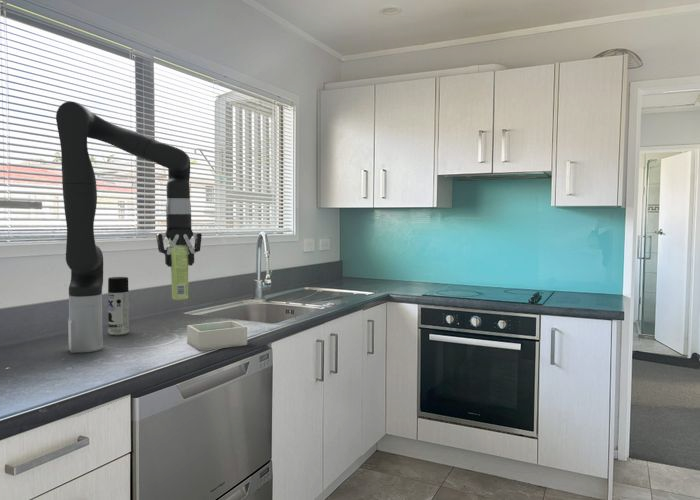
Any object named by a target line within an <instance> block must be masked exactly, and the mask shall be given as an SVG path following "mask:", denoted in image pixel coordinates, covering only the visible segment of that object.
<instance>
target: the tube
mask: <svg viewBox="0 0 700 500" xmlns="http://www.w3.org/2000/svg"><path fill="white" fill-rule="evenodd" d="M171 242H172V241H171V239H170V238H169V240H168V243H169V245H170V244H171ZM170 255H171V267H170V275H171V277H170V279H171V299H172V300H174V301H177V300H179V301H180V300H188V299H189V265H188V256H189V248H187V244H186V245H176V244H175V246H174V248H171V253H170Z"/></svg>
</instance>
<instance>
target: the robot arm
mask: <svg viewBox="0 0 700 500" xmlns="http://www.w3.org/2000/svg"><path fill="white" fill-rule="evenodd" d="M55 120H56V121H55V122H56V126H57V127H56V128H57V132H58V136H59V137H58V138H59V143H60V153H61V154H60V155H61V157H60V158H61V177H62V178H61V180H62V181H61V184H62V185H61V186H62V199H63V206H64V208H63V209H64V216H65V223H66V244H65V262H66V265H67V266H68V268H69V269H70V283H69V286H68V319H67V324H68V325H67V326H68V330H67V331H68V333H67V335H68V350H69V352H70V353H71V354H74V353H78V354H79V353H91V352H96V351H97V352H98V351H99V350H103V347H104V345H103V343H104V339H103V285H104V256H103V255H104V254H103V252H102V250H101V248H100V247H99V246H98V245H97V244H96V239H95V230H94V229H95V225H94V223H95V218H96V217H95V216H96V214H97V213H96V211H97V203H98V191H97V190H98V189H97V179H96V173H95V171H94V166H93V164H92V161H91V158H90V154H89V148H88V138H89V139H93V140H97V141H100V142H103V143H106V144H109V145H111V146H113V147H116V149H117V148H118V149H120V150H122V151H124V152H126V153H128V154H131V155H132V156H135V157H137V158H140V159H142V160H145V161H149V162H151V163H152V162H153V163H155V164H157V165H160V166H162V167H164V168H167V170H168V171H167V173H168V180H167V182H166V203H165V213H166V216H165V218H166V231H165V233H157V234H156V236H155V237H156V243H157V249H158V252H159V253H160V254H163V255H164V261H165V262H164V263H165V265H166V266H167V267H169V268H171V255H170V253H171V248H174V246H175V244H176V245H186V244H187V248H189V256H188V267H189V266H193V265H194V264H195V253H198V252H200V251H201V245H202V237H203V235H202V233H201V232H194V231H193V230H192V204H191V188H190V178H191V159H190V156H189V155H188V154H187V153H186V152H185V151H184V150H183V149H181V148H178V147H176V146H173V145H169V144H167V143H164V142H161V141H159V140H158V139H155V138H152V137H150V136H148V135H145V134H143V133H141V132H138V131H134V130H131V129H129V128H126V127H122V126H118V125H116V124H114V123H111V122H109V121H107V120H105V119H103V118H102V117H101V116H99V115H97V114H95V113H94V112H92V111H91V110H90V109H89V108H87V107H85V106H84V105H83V104H80V103H78V102H76V101H72V100H70V101H69V100H68V101H65V102H63V103H61V104H60V105H59V107H58V109H57V111H56V113H55ZM192 237H193V239H194V247H193V244H192V241H191V239H192ZM165 238H166V239H167V240H168V241H169V238H170V239H171V241H172V242H171V244H170V245H169V242H168V243H167V245H166V248H165V245H164V240H165Z"/></svg>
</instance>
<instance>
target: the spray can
mask: <svg viewBox="0 0 700 500" xmlns="http://www.w3.org/2000/svg"><path fill="white" fill-rule="evenodd" d="M107 279H108V280H107V294H108V295H107V303H108V304H107V309H108V310H107V311H108V313H107V318H108V321H107V322H108V324H107V325H108V328H107V331H108V335H109V336H123V335H127V334H129V329H130V327H129V320H130V319H129V316H130V315H129V312H130V311H129V307H130V306H129V295H130V294H129V277H128V276H112V277H111V276H110V277H108V278H107Z"/></svg>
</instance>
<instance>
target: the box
mask: <svg viewBox="0 0 700 500" xmlns="http://www.w3.org/2000/svg"><path fill="white" fill-rule="evenodd" d="M186 338H187V340H186V343H187V344H188V345H189V346H190V347H192V348H193V349H196V350H197V351H198V352H202V350H204V351H210V350H209V349H211V350H218V349H225V348H226V349H227V348H233V347H241V346H247V345H248V326H246V325H244V324H242V323H240V322H237V321H235V320H227V321H217V322H215V321H214V322H206V323H198V324H196V323H195V324H189V325H188V324H187V325H186Z"/></svg>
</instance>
